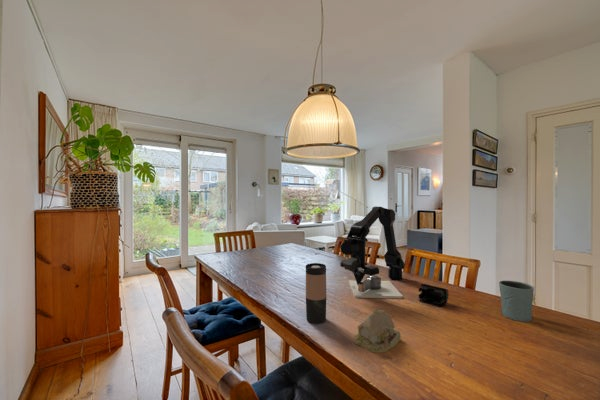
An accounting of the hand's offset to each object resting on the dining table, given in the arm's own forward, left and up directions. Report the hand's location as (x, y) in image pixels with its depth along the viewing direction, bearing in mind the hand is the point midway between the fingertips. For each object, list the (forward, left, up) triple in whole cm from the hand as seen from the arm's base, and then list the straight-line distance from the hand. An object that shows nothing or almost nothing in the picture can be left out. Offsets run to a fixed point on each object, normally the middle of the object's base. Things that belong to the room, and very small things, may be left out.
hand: (358, 285), depth 120 cm
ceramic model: (+1, +39, -5) cm, 39 cm away
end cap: (-30, +8, -5) cm, 31 cm away
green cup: (-55, +20, -4) cm, 59 cm away
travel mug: (+20, +26, -4) cm, 33 cm away
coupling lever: (-5, -3, -3) cm, 7 cm away
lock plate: (-8, -6, -4) cm, 11 cm away
